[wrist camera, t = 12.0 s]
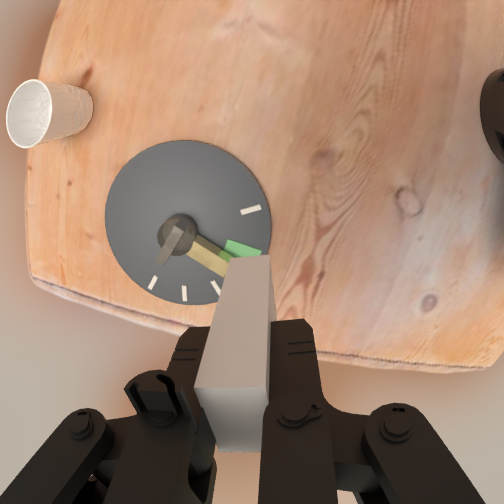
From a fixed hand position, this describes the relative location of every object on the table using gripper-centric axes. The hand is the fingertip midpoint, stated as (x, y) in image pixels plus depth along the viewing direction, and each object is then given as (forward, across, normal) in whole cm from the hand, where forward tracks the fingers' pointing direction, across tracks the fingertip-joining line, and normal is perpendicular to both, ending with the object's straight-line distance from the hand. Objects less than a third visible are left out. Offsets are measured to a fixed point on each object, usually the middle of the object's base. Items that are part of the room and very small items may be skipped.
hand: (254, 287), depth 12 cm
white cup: (+27, -24, +13) cm, 38 cm away
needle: (+25, -8, -8) cm, 27 cm away
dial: (+26, -11, -5) cm, 29 cm away
